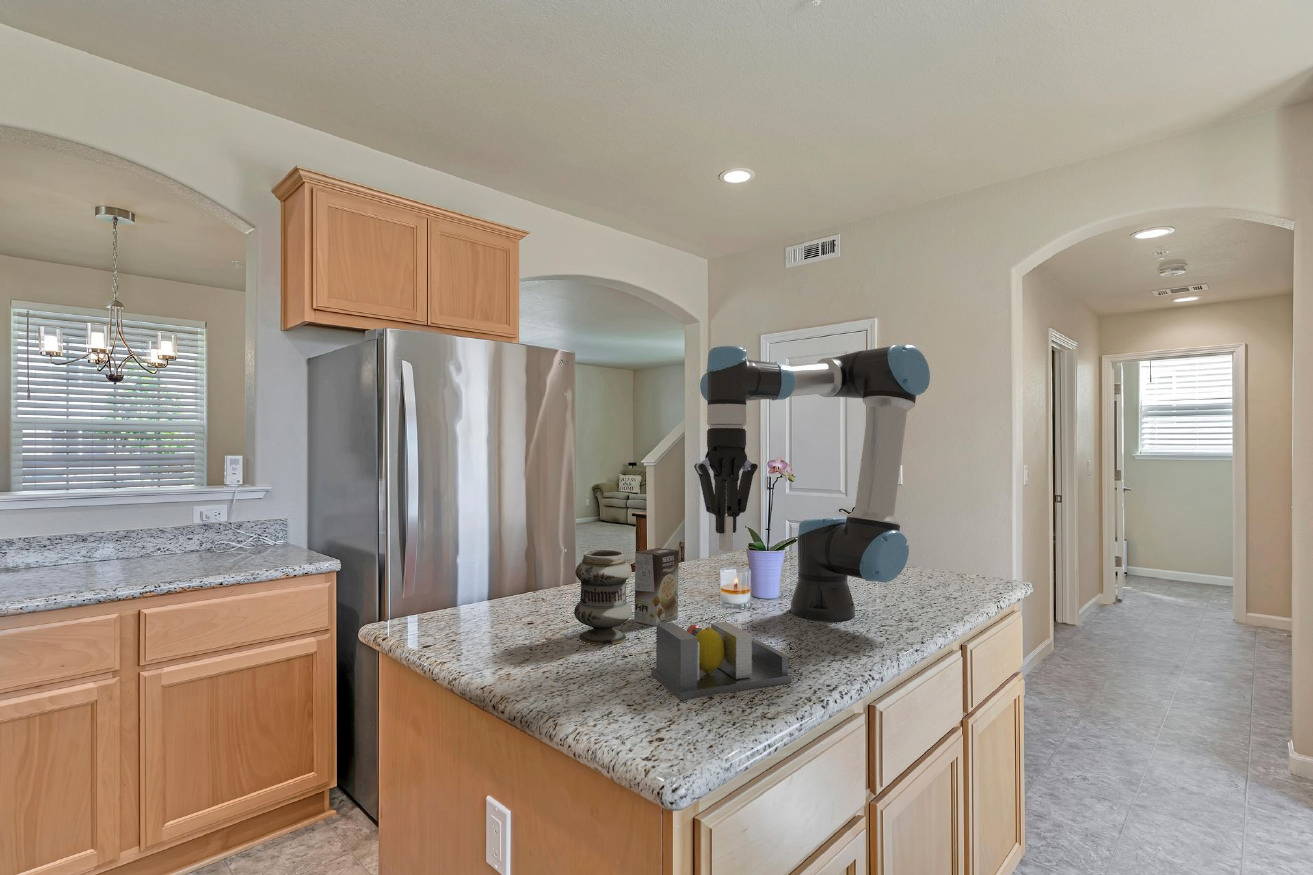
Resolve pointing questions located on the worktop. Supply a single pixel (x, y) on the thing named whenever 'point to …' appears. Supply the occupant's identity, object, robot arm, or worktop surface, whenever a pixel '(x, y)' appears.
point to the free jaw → (732, 649)
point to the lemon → (710, 649)
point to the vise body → (689, 681)
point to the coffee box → (656, 586)
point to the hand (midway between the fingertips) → (725, 550)
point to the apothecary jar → (603, 596)
